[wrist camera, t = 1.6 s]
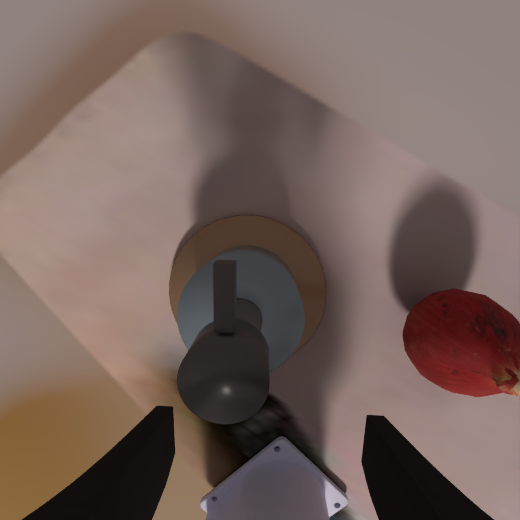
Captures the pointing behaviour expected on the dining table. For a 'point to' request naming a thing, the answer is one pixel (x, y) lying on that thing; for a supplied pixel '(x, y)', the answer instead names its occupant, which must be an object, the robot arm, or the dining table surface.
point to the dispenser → (252, 282)
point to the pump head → (225, 359)
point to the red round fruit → (464, 343)
